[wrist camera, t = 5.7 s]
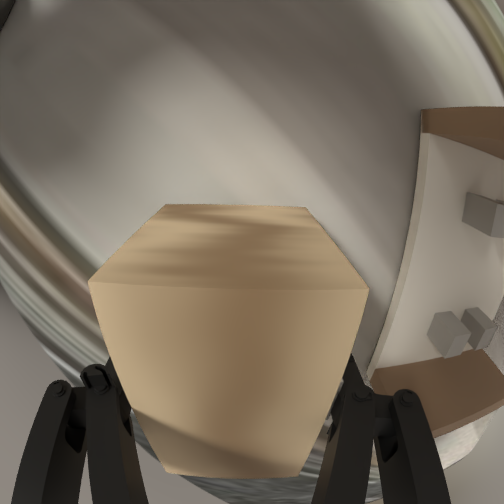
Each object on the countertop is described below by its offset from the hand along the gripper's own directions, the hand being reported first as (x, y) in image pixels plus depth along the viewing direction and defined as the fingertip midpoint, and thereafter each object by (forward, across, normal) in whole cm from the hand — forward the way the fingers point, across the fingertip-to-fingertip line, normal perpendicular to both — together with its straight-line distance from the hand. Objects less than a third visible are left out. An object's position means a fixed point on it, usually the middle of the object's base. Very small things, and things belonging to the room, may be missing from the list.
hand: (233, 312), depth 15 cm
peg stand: (+2, +17, +2) cm, 18 cm away
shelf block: (0, 0, 0) cm, 0 cm away
